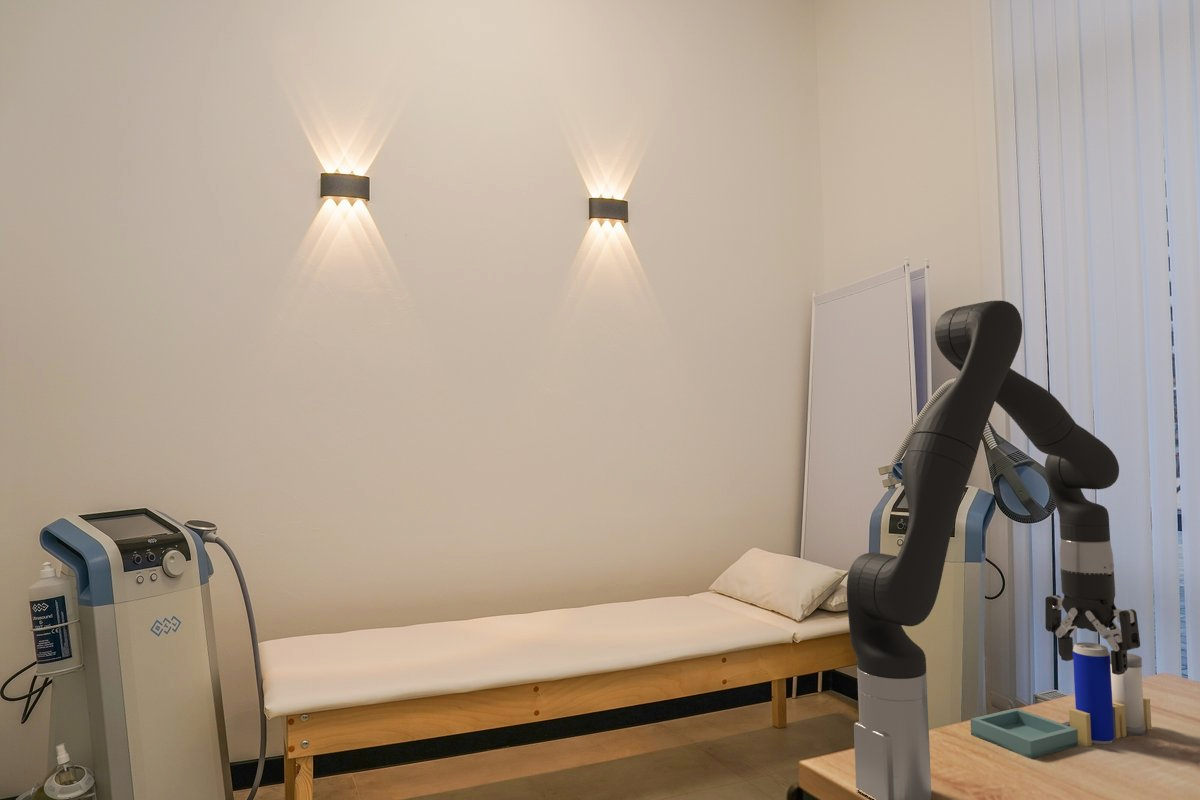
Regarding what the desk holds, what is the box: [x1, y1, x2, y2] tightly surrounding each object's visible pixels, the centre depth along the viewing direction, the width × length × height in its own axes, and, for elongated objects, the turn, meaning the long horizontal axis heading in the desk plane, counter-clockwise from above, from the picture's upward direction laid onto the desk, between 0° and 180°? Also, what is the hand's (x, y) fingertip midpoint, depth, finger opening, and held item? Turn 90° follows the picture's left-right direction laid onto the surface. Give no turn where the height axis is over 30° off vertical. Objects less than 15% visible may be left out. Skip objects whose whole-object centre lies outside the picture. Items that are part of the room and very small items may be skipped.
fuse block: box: [1061, 696, 1152, 747], centre depth 130 cm, size 17×6×5 cm, turn 114°
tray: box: [970, 707, 1079, 759], centre depth 128 cm, size 11×11×3 cm
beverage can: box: [1072, 642, 1115, 745], centre depth 128 cm, size 5×5×15 cm
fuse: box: [1109, 652, 1146, 736], centre depth 131 cm, size 5×5×12 cm
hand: (1092, 666), depth 128 cm, fingers open, 8 cm apart
